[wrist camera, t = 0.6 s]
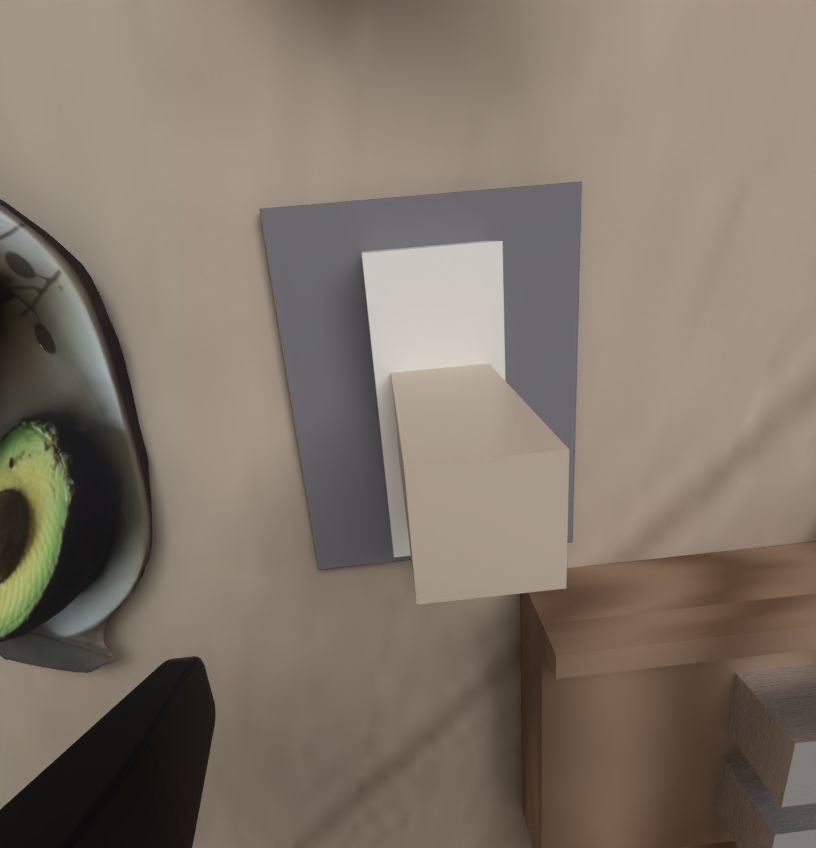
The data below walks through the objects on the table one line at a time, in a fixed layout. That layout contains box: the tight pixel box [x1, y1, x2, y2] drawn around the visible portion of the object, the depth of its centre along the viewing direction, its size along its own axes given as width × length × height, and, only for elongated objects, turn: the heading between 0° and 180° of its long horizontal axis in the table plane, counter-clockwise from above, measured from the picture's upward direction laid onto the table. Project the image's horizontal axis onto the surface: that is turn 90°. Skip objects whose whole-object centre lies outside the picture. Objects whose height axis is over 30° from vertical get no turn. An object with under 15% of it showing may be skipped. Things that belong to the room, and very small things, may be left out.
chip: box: [727, 664, 816, 807], centre depth 19 cm, size 3×3×3 cm
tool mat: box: [260, 182, 582, 570], centre depth 19 cm, size 10×13×1 cm
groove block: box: [520, 542, 816, 848], centre depth 22 cm, size 13×14×4 cm
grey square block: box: [714, 754, 816, 848], centre depth 21 cm, size 3×3×3 cm
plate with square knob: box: [362, 241, 569, 605], centre depth 14 cm, size 4×10×9 cm, turn 5°
